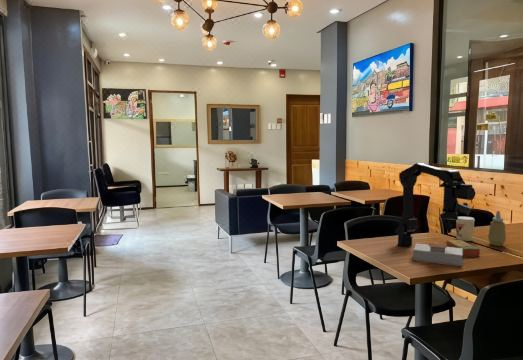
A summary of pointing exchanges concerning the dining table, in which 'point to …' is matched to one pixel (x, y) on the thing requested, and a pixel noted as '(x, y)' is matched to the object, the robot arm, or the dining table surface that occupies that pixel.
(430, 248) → the flap
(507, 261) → the dining table surface
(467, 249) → the carton
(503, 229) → the squeeze bottle
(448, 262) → the box
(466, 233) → the coffee cup
